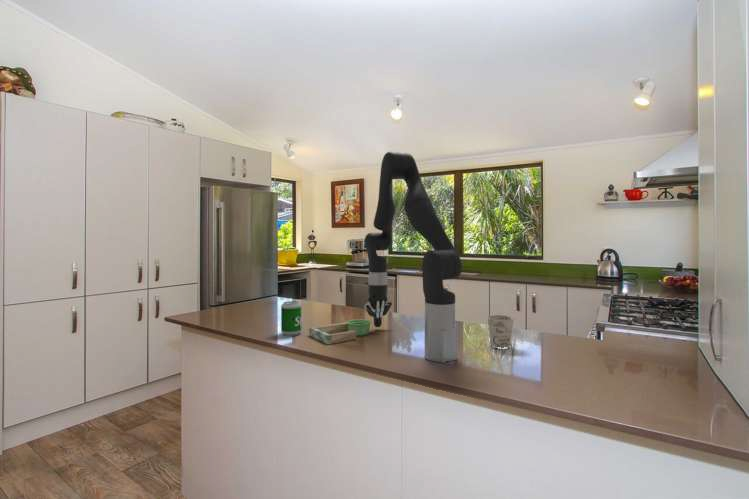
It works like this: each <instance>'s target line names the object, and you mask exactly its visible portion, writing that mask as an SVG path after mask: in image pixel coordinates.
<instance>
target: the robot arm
mask: <svg viewBox="0 0 749 499" xmlns="http://www.w3.org/2000/svg"><path fill="white" fill-rule="evenodd" d="M421 177H422V176H421V175H420V172H419V169H418V166H417V163H416V160H415V158H414V156H413V155H412V154H411V153H407V152H401V151H388V152H386V153H385V154H384V156H383V158H382V161H381V166H380V175H379V188H378V189H379V190H378V200H377V206H376V209H375V210H376V211H375V215H374V218H373V227H374V228H375V229H377V230H379V231H381V232H369V233H367V234H366V235H365V238H364V246H365V250H366V253H367V258H368V280H367V281H368V285H367V286H368V299H367V302H366V303H365V304H363V305H362V307H363V309H364V310H365V311H366V312H367V314H368V316H370V317H372V318H373V325H374V327H375V328H380V327H381V326H382V318H383V317H384V316H386V315H387V314H388V312H389V310H390V309H391V307H392V305H393V302H392V301H389V300H388V296H387V295H388V273H387V272H388V260H387V257H385V256H380V255H378V254H377V253H378V252H377V251H387V250H389V249H390V248H391V246H392V243H393V242H392V241H393V240H392V238H393V237H392V225H393V221H394V217H395V213H396V206H395V201H394V199H393V196H392V193H391V192H392V191H391V184H392V180H393V179H398V180H399V179H401V180H403V181H404V182H405V184H406V187H407V193H406V196H405V198H404V202H403V209H404V212H405V214H406V217H407V220H408V222H409V224H410V225H411V227H412V228H413V229H414V231H416V232H417V233H418V234H419V235H420V236H422V238H424V239H425V240H426V241H427V242H428V243H429V244H430V245H431V247H432V248H433V250H428V251H426V252H425V253H424V256H423V258H422V262H421V263H422V264H421V272H422V292H423V295H424V353H423V354H424V358H425V359H427V360H428V361H432V362H436V361H437V362H438V363H442V364H443V363H444V364H445V363H447V361H448V362H451V361H457V359H458V328H456V294H455V292H453V291H450V290H447V289H446V288H445V287H444V282H443V281H446V280H447V281H448V280H455V279H457V278H459V277H460V275H461V273H462V269H463V267H462V266H463V262H462V260H461V256H460V255H459V252H458V251H457V249H456V247H455V246H454V245H453V242H452V241H451V239H450V238H449V236H448V235H447V233H446V231H445V228H444V227H443V225H442V223H441V220H440V218H439V217H438V214H437V212H436V209H435V207H434V205H433V203H432V201H431V198H430V196H429V195H428V193H427V191H426V187H425V186H424V183H423V180H422V178H421ZM437 362H436V363H437Z"/></svg>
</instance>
